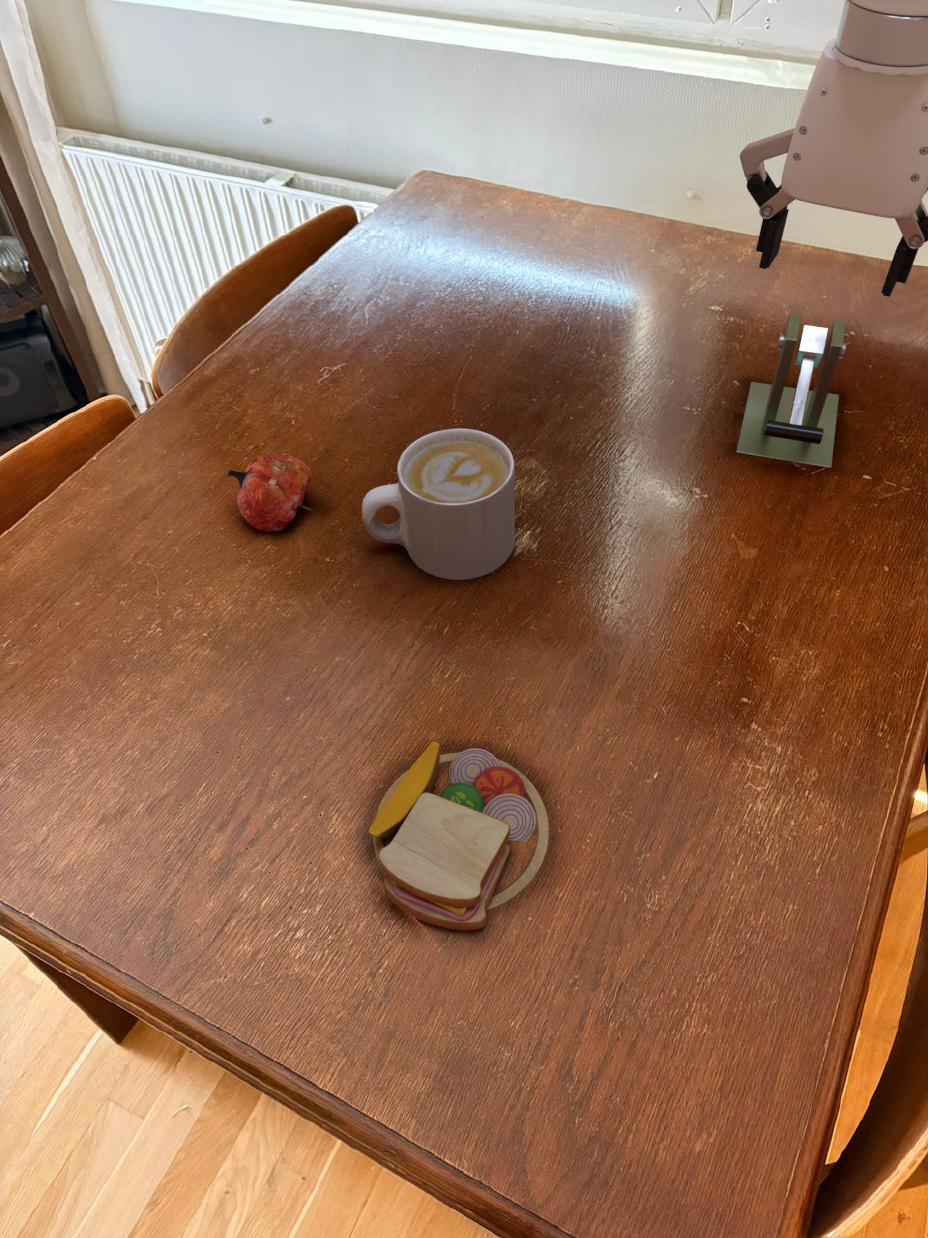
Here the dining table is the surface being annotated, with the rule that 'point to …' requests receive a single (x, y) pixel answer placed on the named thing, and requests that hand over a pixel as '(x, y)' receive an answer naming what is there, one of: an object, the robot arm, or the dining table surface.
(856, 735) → the dining table surface
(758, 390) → the bracket
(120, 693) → the dining table surface
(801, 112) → the robot arm
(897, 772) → the dining table surface
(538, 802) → the toy sandwich meal
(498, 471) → the coffee mug
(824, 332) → the lever
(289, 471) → the pomegranate
